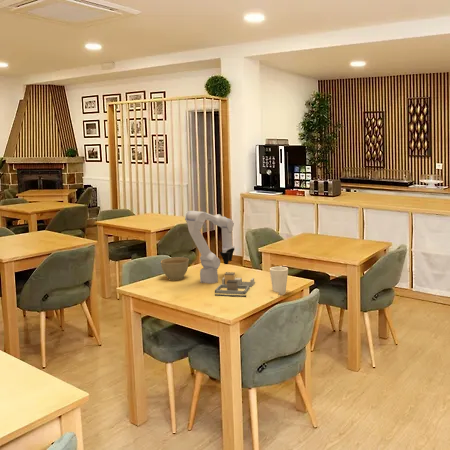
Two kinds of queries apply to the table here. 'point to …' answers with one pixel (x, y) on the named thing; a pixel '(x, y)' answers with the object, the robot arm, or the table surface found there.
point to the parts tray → (231, 291)
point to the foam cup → (279, 279)
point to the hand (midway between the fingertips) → (227, 262)
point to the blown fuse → (232, 285)
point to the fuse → (229, 276)
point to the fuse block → (241, 282)
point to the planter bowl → (175, 267)
